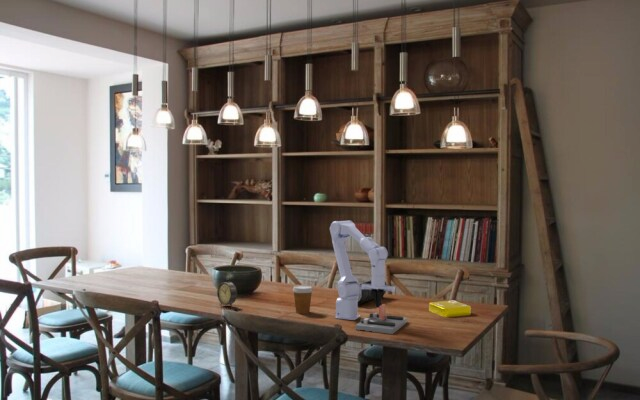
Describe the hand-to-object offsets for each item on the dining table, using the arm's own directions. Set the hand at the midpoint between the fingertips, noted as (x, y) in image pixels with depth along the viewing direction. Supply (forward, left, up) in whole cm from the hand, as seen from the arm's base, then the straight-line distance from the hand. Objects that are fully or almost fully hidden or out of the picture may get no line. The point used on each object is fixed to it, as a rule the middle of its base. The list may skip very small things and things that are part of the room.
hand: (378, 307), depth 247 cm
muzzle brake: (-21, +46, -8) cm, 51 cm away
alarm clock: (-79, +5, -8) cm, 80 cm away
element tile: (+23, +38, -9) cm, 45 cm away
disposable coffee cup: (-40, +9, -8) cm, 42 cm away
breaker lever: (+2, 0, -5) cm, 5 cm away
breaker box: (+2, 0, -8) cm, 8 cm away
